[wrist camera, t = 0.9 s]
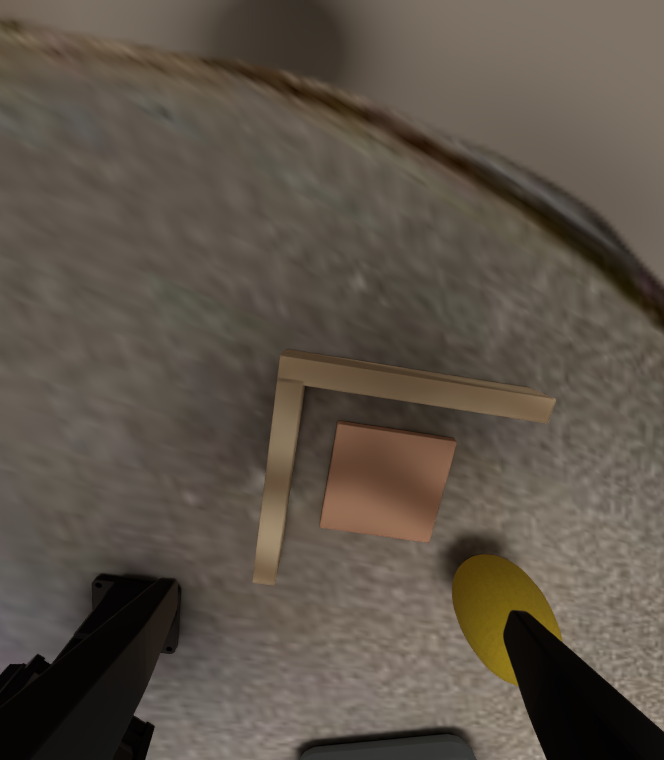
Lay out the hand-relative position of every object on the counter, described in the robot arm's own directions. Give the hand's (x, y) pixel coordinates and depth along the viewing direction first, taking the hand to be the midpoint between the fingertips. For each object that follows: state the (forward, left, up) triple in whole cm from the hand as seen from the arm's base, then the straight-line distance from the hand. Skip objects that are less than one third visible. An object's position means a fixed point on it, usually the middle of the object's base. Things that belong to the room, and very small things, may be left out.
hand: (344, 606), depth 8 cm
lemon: (-9, -12, -13) cm, 20 cm away
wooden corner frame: (-3, -4, -13) cm, 14 cm away
